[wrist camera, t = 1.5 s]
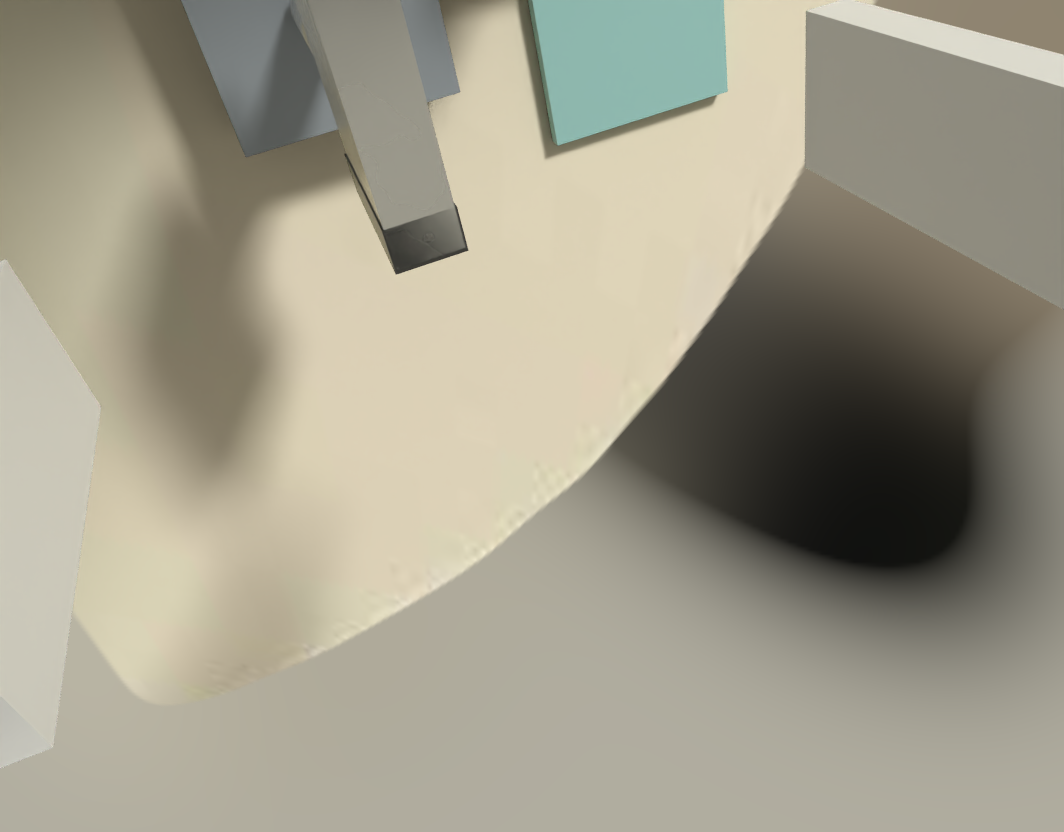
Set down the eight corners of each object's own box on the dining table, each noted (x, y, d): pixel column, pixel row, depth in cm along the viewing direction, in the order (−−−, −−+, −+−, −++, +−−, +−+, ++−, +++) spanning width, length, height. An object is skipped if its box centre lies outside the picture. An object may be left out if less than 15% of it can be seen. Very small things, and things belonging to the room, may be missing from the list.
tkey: (241, -128, 25) (272, -99, 16) (303, -144, 25) (370, -125, 16) (333, 139, 30) (395, 274, 21) (384, 123, 30) (468, 250, 21)
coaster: (515, -68, 31) (521, -66, 31) (710, -122, 32) (717, -121, 32) (553, 141, 36) (557, 145, 36) (720, 87, 37) (727, 91, 37)
